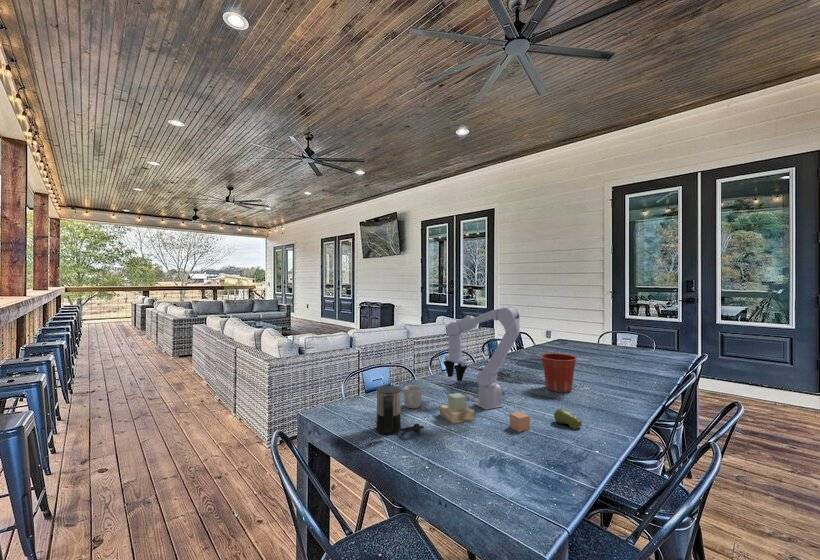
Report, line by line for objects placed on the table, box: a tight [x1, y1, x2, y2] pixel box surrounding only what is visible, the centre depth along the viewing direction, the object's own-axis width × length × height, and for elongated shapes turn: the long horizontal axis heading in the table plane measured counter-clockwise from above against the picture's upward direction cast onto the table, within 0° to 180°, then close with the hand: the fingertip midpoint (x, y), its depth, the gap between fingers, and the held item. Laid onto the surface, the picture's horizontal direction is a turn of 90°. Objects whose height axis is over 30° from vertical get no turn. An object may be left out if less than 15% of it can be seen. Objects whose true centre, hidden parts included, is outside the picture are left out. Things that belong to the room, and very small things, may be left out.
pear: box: [553, 408, 583, 430], centre depth 140 cm, size 6×5×10 cm
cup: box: [403, 384, 423, 409], centre depth 157 cm, size 11×8×8 cm
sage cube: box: [447, 392, 467, 411], centre depth 147 cm, size 5×5×5 cm
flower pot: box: [540, 352, 578, 393], centre depth 184 cm, size 16×16×16 cm
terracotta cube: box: [509, 411, 531, 433], centre depth 136 cm, size 5×5×5 cm
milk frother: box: [375, 385, 424, 435], centre depth 134 cm, size 14×16×15 cm
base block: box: [439, 404, 476, 425], centre depth 147 cm, size 10×10×4 cm
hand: (454, 378), depth 168 cm, fingers open, 7 cm apart
